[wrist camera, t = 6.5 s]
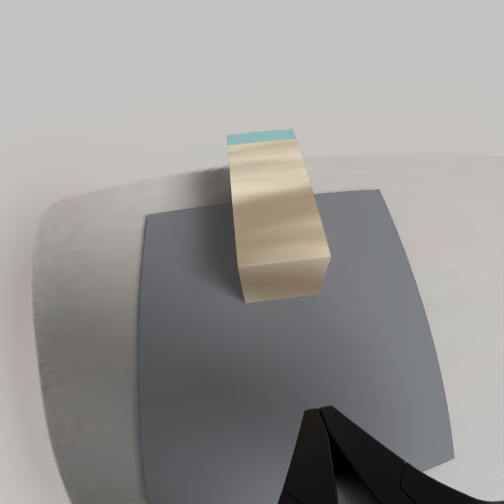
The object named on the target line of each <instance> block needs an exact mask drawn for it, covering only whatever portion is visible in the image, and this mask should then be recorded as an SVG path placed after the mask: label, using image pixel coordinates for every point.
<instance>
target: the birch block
mask: <svg viewBox="0 0 504 504" xmlns="http://www.w3.org/2000/svg"><path fill="white" fill-rule="evenodd" d="M227 143H228V156H229V169H230V181H231V193H232V205H233V217H234V229H235V240H236V251H237V262H238V270H239V275H240V280H241V285H242V290H243V295H244V299H245V303H252V302H260V301H268V300H277V299H284V298H292V297H300V296H307V295H314V294H319V292H320V289H321V286H322V283H323V280H324V277H325V274H326V271H327V268H328V264H329V261H330V258H331V254H330V251H329V247H328V243H327V239H326V236H325V232H324V228H323V225H322V221H321V218H320V214H319V211H318V207H317V204H316V201H315V197H314V194H313V191H312V187H311V184H310V181H309V177H308V174H307V171H306V168H305V165H304V162H303V159H302V155H301V153H300V149H299V146H298V143H297V140H296V137H295V135H294V131H293V129H289V130H276V131H264V132H254V133H245V134H236V135H228V136H227Z"/></svg>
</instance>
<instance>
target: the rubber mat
mask: <svg viewBox="0 0 504 504" xmlns="http://www.w3.org/2000/svg"><path fill="white" fill-rule="evenodd" d="M314 197H315V201H316V204H317V207H318V211H319V214H320V218H321V221H322V225H323V228H324V232H325V236H326V239H327V243H328V247H329V251H330V254H331V258H330V261H329V264H328V268H327V271H326V274H325V277H324V280H323V283H322V286H321V289H320V292H319V294H314V295H307V296H300V297H292V298H284V299H277V300H268V301H260V302H252V303H245V299H244V295H243V290H242V285H241V280H240V275H239V270H238V262H237V251H236V240H235V229H234V217H233V205H232V203H230V204H222V205H214V206H206V207H199V208H192V209H184V210H177V211H171V212H164V213H157V214H151V215H147V223H146V232H145V242H144V252H143V264H142V276H141V291H140V310H139V341H138V387H139V416H140V434H141V448H142V460H143V470H144V480H145V488H146V496H147V503H148V504H277V503H278V500H279V497H280V494H281V492H282V489H283V485H284V482H285V479H286V476H287V472H288V469H289V465H290V462H291V459H292V455H293V452H294V448H295V444H296V441H297V437H298V433H299V430H300V426H301V422H302V418H303V414H304V411H305V410H307V409H313V408H318V409H319V408H320V407H324V406H330V405H331V406H334V407H335V408H336V409H337V410H339V411H340V412H341V413H342V414H344V415H345V416H346V417H348V418H349V419H350V420H351V421H353V422H354V423H355V424H357V425H358V426H359V427H360V428H362V429H363V430H364V431H366V432H367V433H368V434H370V435H371V436H372V437H374V438H375V439H376V440H378V441H379V442H380V443H382V444H383V445H384V446H386V447H387V448H388V449H390V450H391V451H392V452H394V453H395V454H397V455H398V456H399V457H401V458H402V459H404V460H405V461H406V462H408V463H409V464H411V465H412V466H414V467H415V468H417V469H418V470H420V471H421V472H423V471H426V470H428V469H431V468H433V467H435V466H438V465H440V464H442V463H445V462H447V461H449V460H451V459H453V458H454V450H453V441H452V433H451V426H450V419H449V413H448V407H447V401H446V396H445V391H444V386H443V381H442V376H441V371H440V367H439V363H438V358H437V354H436V350H435V346H434V342H433V338H432V335H431V331H430V327H429V324H428V320H427V317H426V313H425V310H424V307H423V303H422V300H421V297H420V294H419V291H418V287H417V284H416V281H415V278H414V276H413V273H412V270H411V267H410V264H409V261H408V259H407V256H406V253H405V250H404V248H403V245H402V243H401V240H400V237H399V235H398V232H397V230H396V227H395V225H394V222H393V220H392V218H391V215H390V213H389V210H388V208H387V206H386V203H385V201H384V199H383V197H382V194H381V192H380V190H379V189H378V190H363V191H350V192H337V193H325V194H314ZM406 462H405V463H406Z"/></svg>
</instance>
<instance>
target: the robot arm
mask: <svg viewBox="0 0 504 504" xmlns="http://www.w3.org/2000/svg"><path fill="white" fill-rule="evenodd" d="M405 462H406V461H405V460H404V459H402V458H401V457H399V456H398V455H397V454H395V453H394V452H392V451H391V450H390V449H388V448H387V447H386V446H384V445H383V444H382V443H380V442H379V441H378V440H376V439H375V438H374V437H372V436H371V435H370V434H368V433H367V432H366V431H364V430H363V429H362V428H360V427H359V426H358V425H357V424H355V423H354V422H353V421H351V420H350V419H349V418H348V417H346V416H345V415H344V414H342V413H341V412H340V411H339V410H337V409H336V408H335V407H334V406H331V405H330V406H324V407H320V408H319V409H318V408H313V409H307V410H305V411H304V414H303V418H302V422H301V426H300V430H299V433H298V437H297V441H296V444H295V448H294V452H293V455H292V459H291V462H290V465H289V469H288V472H287V476H286V479H285V482H284V485H283V489H282V492H281V494H280V497H279V500H278V503H277V504H504V501H495V502H491V501H483V500H479V499H476V498H473V497H471V496H468V495H466V494H464V493H462V492H460V491H457V490H455V489H453V488H451V487H449V486H447V485H445V484H442V483H441V482H439V481H437V480H435V479H433V478H431V477H429V476H428V475H426V474H424V473H423V472H421V471H420V470H418V469H417V468H415V467H414V466H412V465H411V464H409V463H408V462H406V463H405Z"/></svg>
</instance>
